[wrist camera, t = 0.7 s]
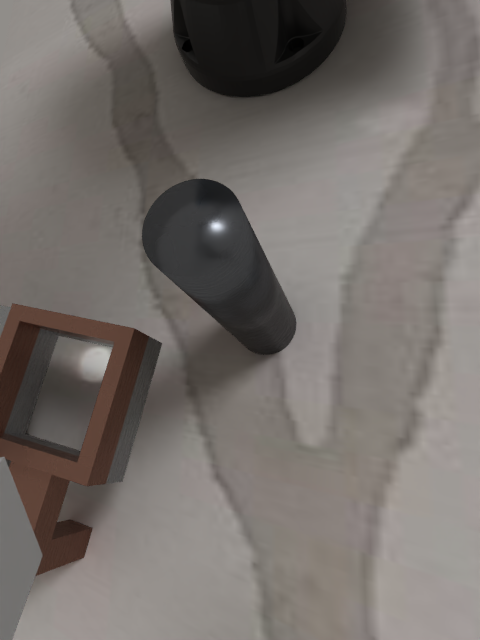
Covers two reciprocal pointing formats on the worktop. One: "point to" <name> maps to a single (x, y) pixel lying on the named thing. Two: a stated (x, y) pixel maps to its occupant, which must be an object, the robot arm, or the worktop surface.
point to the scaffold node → (103, 431)
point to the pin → (219, 262)
